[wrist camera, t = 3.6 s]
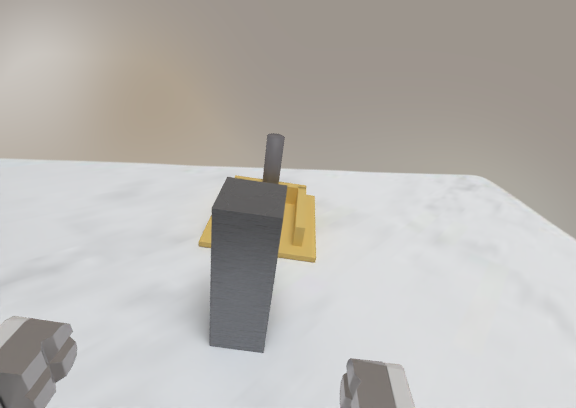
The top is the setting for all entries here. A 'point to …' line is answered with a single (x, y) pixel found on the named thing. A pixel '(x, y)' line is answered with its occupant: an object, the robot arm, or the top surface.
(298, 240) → the keeper
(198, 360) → the top surface
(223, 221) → the gray rectangular block
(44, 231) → the top surface
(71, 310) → the top surface
